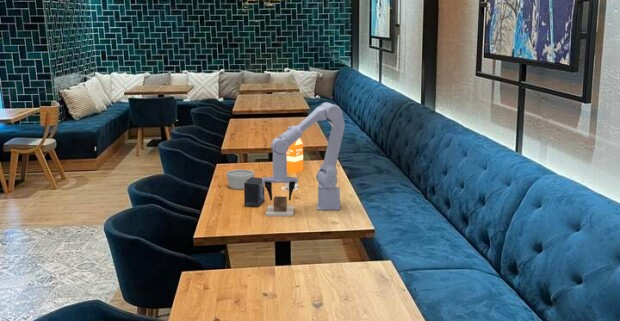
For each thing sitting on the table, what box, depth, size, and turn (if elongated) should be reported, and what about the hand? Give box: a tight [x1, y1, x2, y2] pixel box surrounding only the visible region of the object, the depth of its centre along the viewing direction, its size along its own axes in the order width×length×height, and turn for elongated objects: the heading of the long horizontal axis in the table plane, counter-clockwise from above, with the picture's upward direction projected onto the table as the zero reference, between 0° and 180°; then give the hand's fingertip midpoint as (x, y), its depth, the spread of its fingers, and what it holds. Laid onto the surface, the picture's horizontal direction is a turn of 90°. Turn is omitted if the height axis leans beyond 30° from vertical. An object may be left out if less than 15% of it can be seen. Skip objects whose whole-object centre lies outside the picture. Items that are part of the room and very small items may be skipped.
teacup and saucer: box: [280, 183, 299, 192], centre depth 280 cm, size 9×8×4 cm
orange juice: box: [287, 137, 304, 174], centre depth 313 cm, size 8×9×20 cm
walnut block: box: [273, 195, 288, 212], centre depth 243 cm, size 5×5×5 cm
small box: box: [243, 176, 265, 208], centre depth 255 cm, size 11×6×10 cm, turn 168°
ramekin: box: [226, 169, 255, 190], centre depth 283 cm, size 13×13×7 cm
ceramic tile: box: [265, 205, 295, 217], centre depth 244 cm, size 11×11×1 cm
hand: (280, 199), depth 243 cm, fingers open, 7 cm apart
